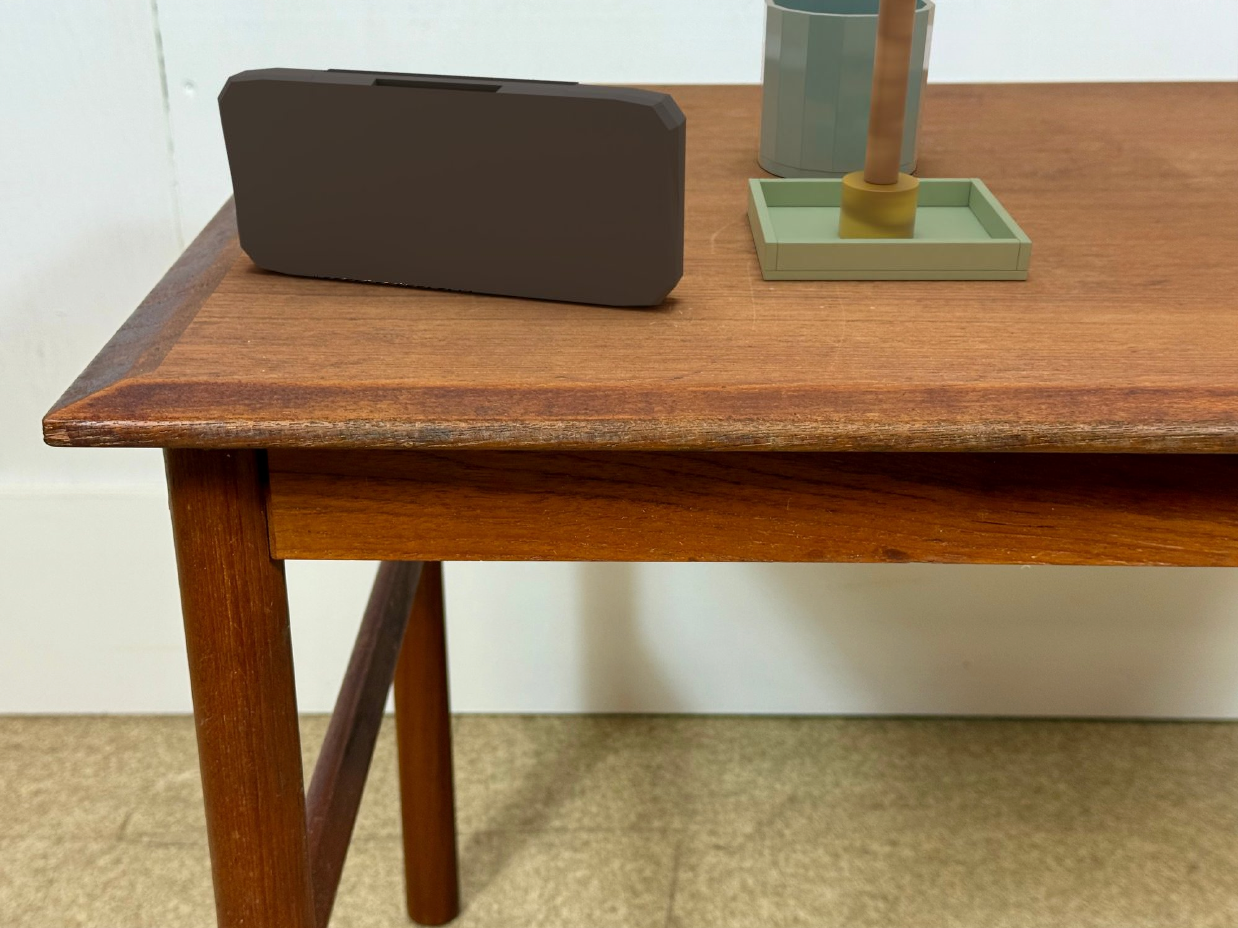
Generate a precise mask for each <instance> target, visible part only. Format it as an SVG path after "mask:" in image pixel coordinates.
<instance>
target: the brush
mask: <svg viewBox="0 0 1238 928" xmlns="http://www.w3.org/2000/svg"><path fill="white" fill-rule="evenodd" d="M916 2H917V0H879V11H878V22H877V34H876V45H875V56H874V67H873V79H872V90H871V101H870V112H869V124H868V135H867V146H866V158H865V169H864V171H857V172H853V173H849V174H847V175H845V176H844V177H843V179H842V191H841V203H840V216H839V228H838V234H839V236H840V237H841V238H842V239H913V237H914V228H915V219H916V210H917V201H918V192H919V181H918V179H916V178H917V177H915V176H913V175H911V174H910V175H908V174H904V173H900V172H899V168H900V158H901V149H902V139H903V129H904V119H905V109H906V100H907V90H908V80H909V70H910V61H911V51H912V41H913V31H914V21H915V12H916Z"/></svg>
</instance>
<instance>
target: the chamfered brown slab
mask: <svg viewBox="0 0 1238 928" xmlns="http://www.w3.org/2000/svg"><path fill="white" fill-rule="evenodd" d="M216 99H217V105H218V111H219V117H220V124H221V129H222V135H223V140H224V145H225V152H226V156H227V162H228V168H229V172H230V178H231V186H232V191H233V199H234V204H235V218H236V220H235V221H236V226H237V227H236V228H237V234H238V239H239V246H240V248H241V249H242V250H243V252H244V253H245V254H246V256H248V258H249V259H250V260H251V261H252V263H253V264H254V265H255V266H256V268H260V269H264V270H268V271H274V272H278V273H281V274H286V275H293V276H305V277H312V278H313V277H314V276H315V278H324V277H330V278H329V279H334V278H346V279H354V280H353V281H355V280H367V281H368V280H371V281H375V282H374V283H376V282H388V283H397V284H400V283H402V285H401V286H407V285H416V286H415V287H417V286H426V287H425V288H428V287H431V288H430V289H438V288H446V289H445V290H448V289H451V290H450V291H459V290H461V292H469V291H472V292H471V293H481V294H492V295H503V296H512V297H514V296H515V297H522V298H533V299H541V300H544V299H545V300H554V301H564V302H565V301H566V302H574V303H586V304H593V305H594V304H595V305H606V306H616V307H642V306H643V307H645V306H660V305H661V304H662V302H663V301H664V300H666V298H667V297H668V296H669V295H670V294H671V292H672V291H673V290H674V289H675V288H676V287H677V286H678V284H679V282H680V281H681V280H682V278H683V276H684V263H685V262H684V261H685V259H684V258H685V257H684V256H685V253H684V252H685V204H686V203H685V202H686V201H685V200H686V150H687V147H686V144H687V117H686V115H685V114H684V112H683V111H682V110H681V108H680V107H679V105H678V104H677V103H676V101H675V100H674V98H673V96H671V94H669V93H664V92H659V91H653V90H648V89H643V88H638V87H628V86H627V87H625V86H611V85H596V84H585V83H584V84H583V83H580V82H579V81H567V80H565V81H564V80H547V79H544V80H543V79H530V78H528V79H527V78H508V77H492V76H474V75H473V76H472V75H470V76H469V75H455V74H454V75H453V74H435V73H419V72H399V71H398V72H397V71H381V70H380V71H379V70H364V69H363V70H362V69H361V70H360V69H342V68H341V69H340V68H328V69H315V68H314V69H312V68H293V67H267V68H258V69H257V68H256V69H247V70H246V69H245V70H243V71H240V72H237V73H236V74H233V75H230V76H228V77H227V80H226V81H225V83H224V85H223V87H222V88H221V90H220V92H219V94H218V96H217V98H216ZM317 276H318V277H317ZM333 277H334V278H333ZM406 284H407V285H406ZM435 287H436V288H435ZM465 290H466V291H465Z"/></svg>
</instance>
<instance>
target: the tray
mask: <svg viewBox="0 0 1238 928" xmlns="http://www.w3.org/2000/svg"><path fill="white" fill-rule="evenodd" d="M915 178H916V179H918V181H919V192H918V201H917V210H916V219H915V228H914V237H913V239H842V238H841V237H840V236H839V234H838V228H839V216H840V203H841V191H842V179H843V178H797V179H787V178H756V177H755V178H748V179H747V205H746V208H747V209H746V212H747V216H748V217H747V218H748V221H749V226H750V230H751V233H752V238H753V241H754V246H755V250H756V254H757V258H758V263H759V267H760V270H761V274H762V277H763V281H1027V279H1028V273H1029V267H1030V260H1031V254H1032V249H1033V248H1032V247H1033V241H1032V240H1031V239H1030V238H1029V237H1028V235H1027V234H1026V233H1025V232H1024V230H1023V229H1022V228H1021V227H1020V226H1019V224H1018V223H1017V222H1016V221H1015V220H1014V218H1013V217H1012V216H1011V214H1010V213H1009V212H1008V211H1007V210H1006V208H1005V207H1004V206H1003V205H1002V203H1001V202H1000V201H999V200H998V199H997V198H996V196H995V195H994V194H993V193H992V191H991V190H990V189H989V187H987V186H986V184H985V183H984V182H983V181H982V180H981V179H980V178H979V177H970V178H968V177H966V178H965V177H955V178H954V177H948V178H947V177H945V178H944V177H931V178H930V177H927V178H926V177H925V178H923V177H920V178H919V177H915Z"/></svg>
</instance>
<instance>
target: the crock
mask: <svg viewBox="0 0 1238 928" xmlns="http://www.w3.org/2000/svg"><path fill="white" fill-rule="evenodd" d="M878 11H879V0H764V2H763V19H762V20H763V23H762V43H761V65H760V84H759V85H760V87H759V104H758V105H759V106H758V109H759V110H758V125H757V126H758V127H757V150H758V151H757V163H758V165H759V166H760V167H761V168H762V170H765V171H766V172H768V173H769V174H772V175H775V176H778V177H781V178H783V179H797V178H843V177H844V176H845V175H847V174H849V173H853V172H857V171H864V169H865V158H866V146H867V135H868V124H869V112H870V101H871V90H872V79H873V67H874V56H875V45H876V34H877V22H878ZM935 13H936V3H934V2H933V1H932V0H917V2H916V12H915V21H914V31H913V41H912V51H911V61H910V70H909V80H908V90H907V100H906V109H905V119H904V129H903V139H902V149H901V158H900V168H899V172H900V173H904V174H908V175H911V174H913V173H914V172H915V170H916V169H917V163H918V157H919V156H920V152H921V151H920V150H921V141H922V132H923V122H924V112H925V106H926V105H925V104H926V95H927V87H928V77H929V68H930V59H931V58H930V57H931V50H932V41H933V31H934V22H935Z"/></svg>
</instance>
